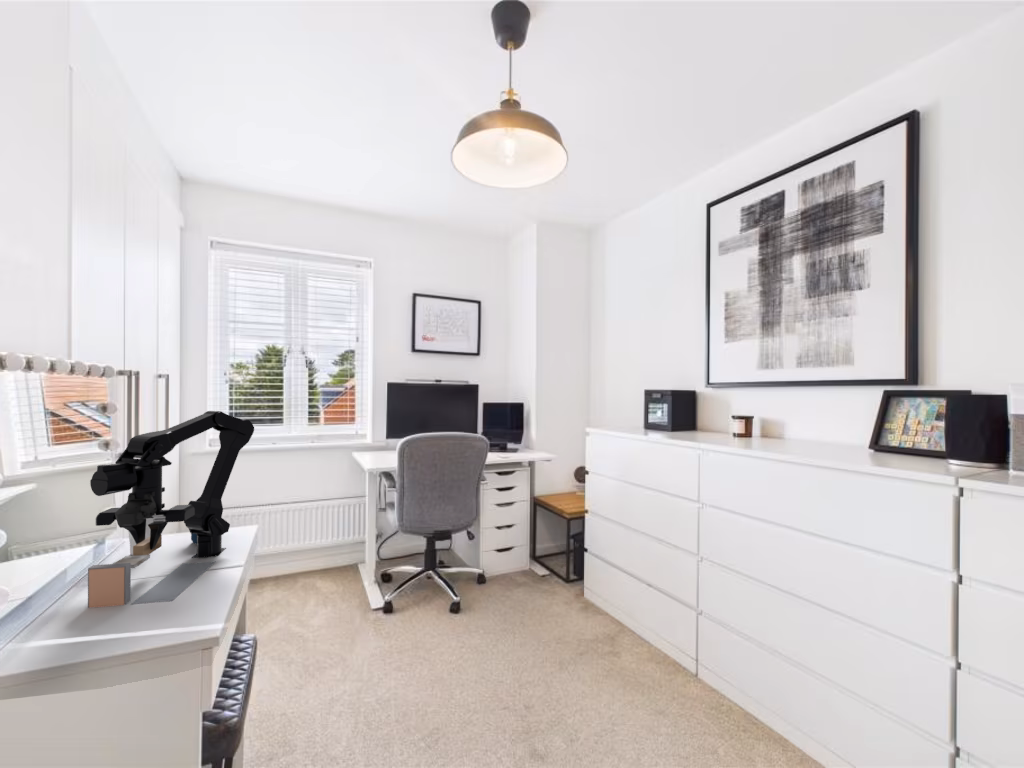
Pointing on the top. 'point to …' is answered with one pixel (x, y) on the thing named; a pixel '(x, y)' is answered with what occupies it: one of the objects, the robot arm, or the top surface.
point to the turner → (140, 553)
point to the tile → (109, 585)
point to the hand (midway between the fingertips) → (146, 549)
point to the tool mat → (174, 583)
